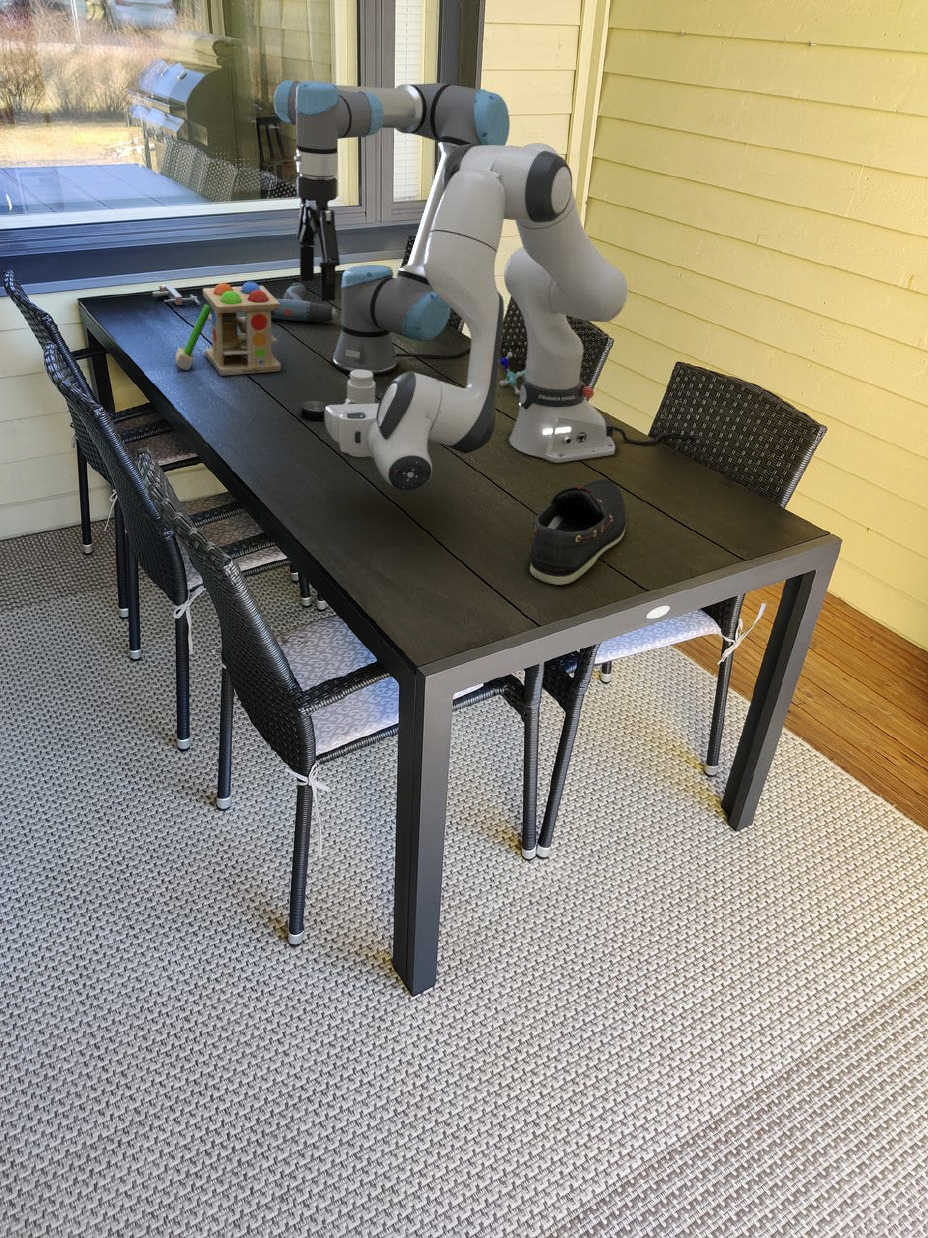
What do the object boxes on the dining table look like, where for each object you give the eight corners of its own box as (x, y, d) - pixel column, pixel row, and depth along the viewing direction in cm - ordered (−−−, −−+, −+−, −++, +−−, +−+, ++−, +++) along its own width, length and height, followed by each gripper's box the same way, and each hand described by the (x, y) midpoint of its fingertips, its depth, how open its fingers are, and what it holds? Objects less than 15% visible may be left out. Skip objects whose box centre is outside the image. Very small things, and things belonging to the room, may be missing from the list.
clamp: (148, 285, 268) (184, 283, 272) (149, 293, 269) (185, 291, 274) (164, 302, 257) (201, 299, 262) (164, 310, 259) (202, 307, 263)
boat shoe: (648, 521, 183) (657, 470, 178) (567, 591, 159) (574, 534, 154) (587, 503, 189) (593, 452, 184) (499, 567, 165) (504, 512, 160)
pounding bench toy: (183, 379, 220) (176, 299, 210) (169, 357, 231) (162, 280, 221) (282, 371, 230) (280, 294, 220) (264, 350, 240) (262, 276, 230)
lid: (323, 423, 208) (323, 413, 206) (297, 417, 209) (297, 408, 208) (334, 413, 212) (334, 403, 211) (308, 408, 214) (308, 398, 212)
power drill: (344, 304, 276) (335, 327, 259) (277, 298, 275) (264, 321, 258) (344, 285, 273) (335, 306, 256) (277, 279, 272) (264, 300, 255)
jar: (340, 451, 197) (341, 373, 188) (357, 443, 201) (359, 366, 192) (361, 459, 195) (363, 380, 185) (378, 451, 198) (381, 373, 189)
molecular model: (536, 387, 225) (523, 344, 224) (499, 400, 229) (485, 359, 227) (549, 385, 235) (536, 345, 234) (513, 399, 239) (500, 359, 238)
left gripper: (279, 161, 192) (281, 272, 204) (318, 189, 173) (318, 309, 185) (316, 162, 195) (316, 271, 206) (358, 189, 176) (355, 308, 188)
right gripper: (449, 413, 169) (430, 382, 180) (331, 418, 164) (319, 386, 175) (447, 446, 173) (429, 415, 184) (332, 452, 168) (320, 419, 179)
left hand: (317, 289), depth 196 cm, fingers open, 13 cm apart
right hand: (374, 401), depth 179 cm, fingers open, 8 cm apart
